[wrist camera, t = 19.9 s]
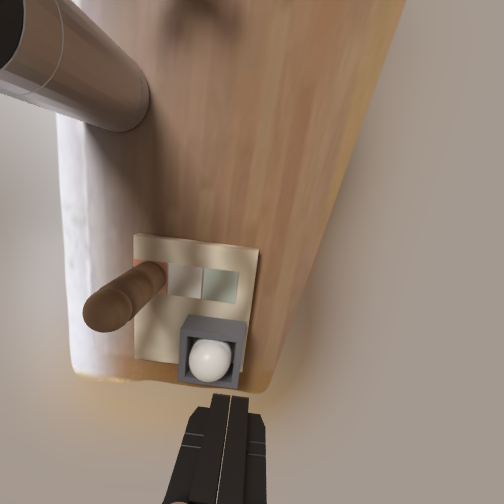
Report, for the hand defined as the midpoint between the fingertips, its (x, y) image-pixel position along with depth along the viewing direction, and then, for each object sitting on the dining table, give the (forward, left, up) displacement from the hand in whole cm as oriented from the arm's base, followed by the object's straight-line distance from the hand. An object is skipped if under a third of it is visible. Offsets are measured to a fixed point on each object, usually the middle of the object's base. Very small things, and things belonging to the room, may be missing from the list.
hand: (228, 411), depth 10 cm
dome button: (-4, -16, -25) cm, 30 cm away
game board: (-8, -10, -27) cm, 30 cm away
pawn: (-14, -6, -25) cm, 30 cm away
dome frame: (-4, -16, -26) cm, 30 cm away
